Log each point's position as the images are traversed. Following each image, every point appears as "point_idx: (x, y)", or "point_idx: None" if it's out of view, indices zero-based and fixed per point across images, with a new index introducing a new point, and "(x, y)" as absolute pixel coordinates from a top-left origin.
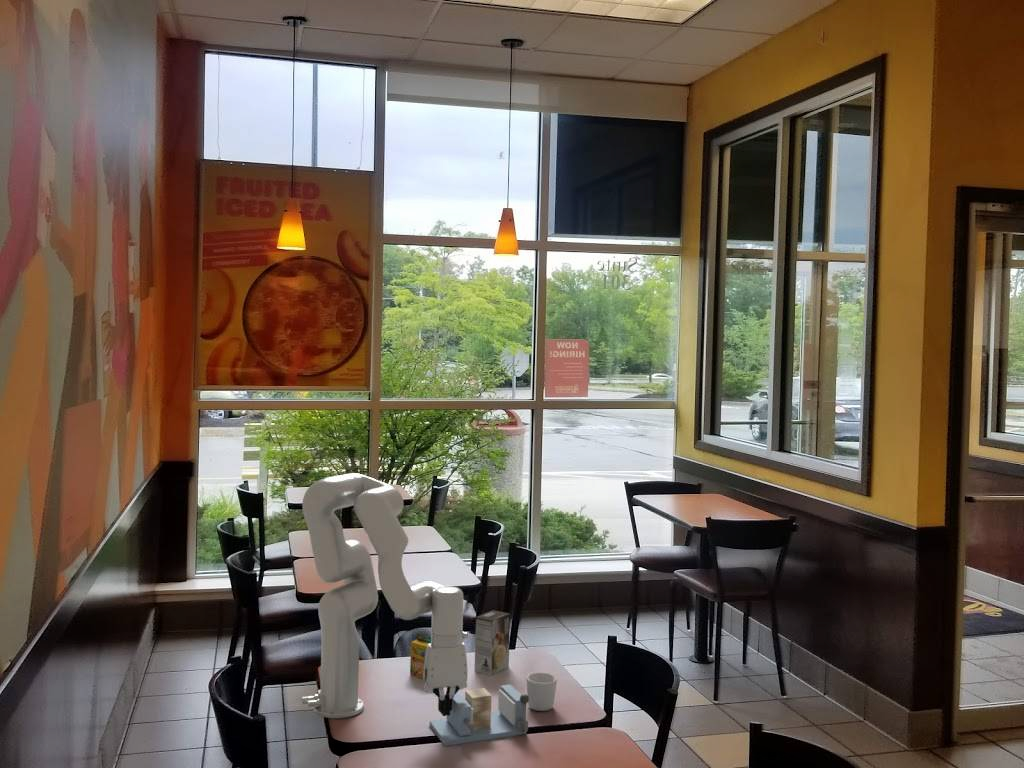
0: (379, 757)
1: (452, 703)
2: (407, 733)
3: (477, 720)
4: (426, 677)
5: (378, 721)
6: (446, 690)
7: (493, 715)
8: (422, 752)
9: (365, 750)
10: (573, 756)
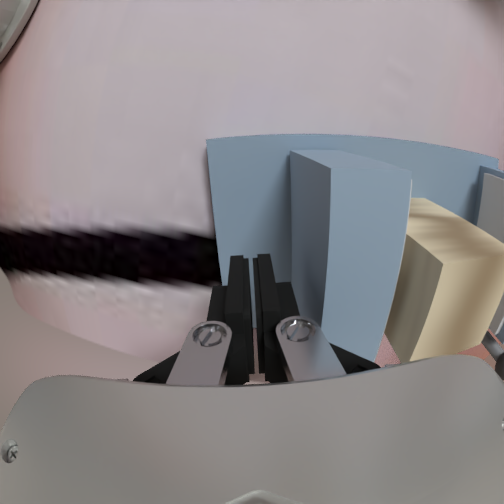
0: (60, 322)
1: (314, 281)
2: (113, 195)
3: None
4: (31, 403)
5: (44, 83)
6: (281, 349)
7: (461, 178)
8: (156, 333)
9: (26, 279)
10: None
